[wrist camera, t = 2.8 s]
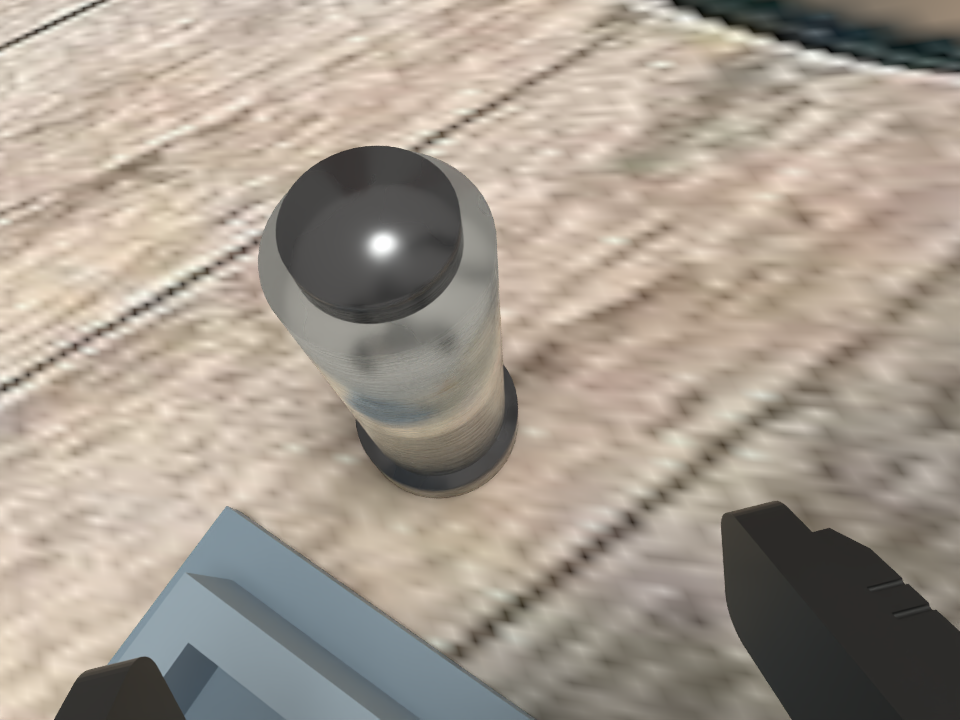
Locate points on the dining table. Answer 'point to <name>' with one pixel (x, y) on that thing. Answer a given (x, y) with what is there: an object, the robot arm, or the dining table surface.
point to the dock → (292, 642)
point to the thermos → (399, 311)
